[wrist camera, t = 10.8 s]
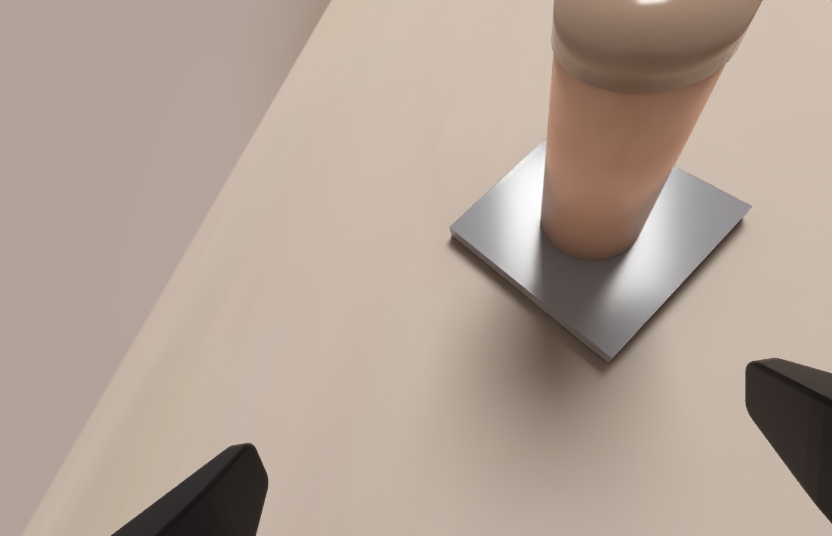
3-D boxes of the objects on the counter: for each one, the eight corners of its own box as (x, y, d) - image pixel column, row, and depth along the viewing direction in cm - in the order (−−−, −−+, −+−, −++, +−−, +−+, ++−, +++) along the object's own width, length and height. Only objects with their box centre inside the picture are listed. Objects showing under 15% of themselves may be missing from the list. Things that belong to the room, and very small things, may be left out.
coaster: (743, 216, 22) (752, 206, 21) (608, 363, 20) (612, 358, 19) (571, 124, 27) (573, 112, 26) (451, 235, 25) (449, 227, 24)
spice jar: (667, 234, 21) (820, -12, 10) (571, 278, 21) (623, 80, 11) (606, 163, 24) (677, -93, 13) (521, 203, 24) (521, -18, 13)
